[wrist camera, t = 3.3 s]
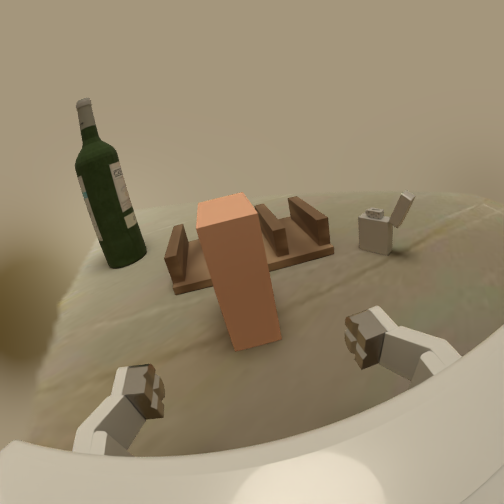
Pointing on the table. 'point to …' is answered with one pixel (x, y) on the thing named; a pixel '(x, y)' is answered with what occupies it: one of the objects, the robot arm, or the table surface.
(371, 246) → the lighter
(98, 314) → the table surface
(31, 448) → the robot arm
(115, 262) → the wine bottle
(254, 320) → the salmon rectangular prism
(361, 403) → the table surface
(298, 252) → the rack
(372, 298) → the table surface
